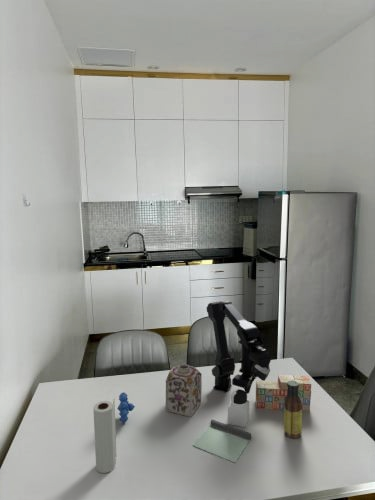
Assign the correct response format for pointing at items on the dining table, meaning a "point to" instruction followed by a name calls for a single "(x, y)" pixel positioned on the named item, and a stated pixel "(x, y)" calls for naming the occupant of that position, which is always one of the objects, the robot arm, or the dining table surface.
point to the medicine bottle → (238, 408)
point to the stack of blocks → (282, 392)
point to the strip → (231, 429)
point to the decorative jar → (183, 390)
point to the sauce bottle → (292, 411)
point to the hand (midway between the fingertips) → (247, 393)
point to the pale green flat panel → (221, 444)
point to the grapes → (124, 407)
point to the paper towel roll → (105, 436)
